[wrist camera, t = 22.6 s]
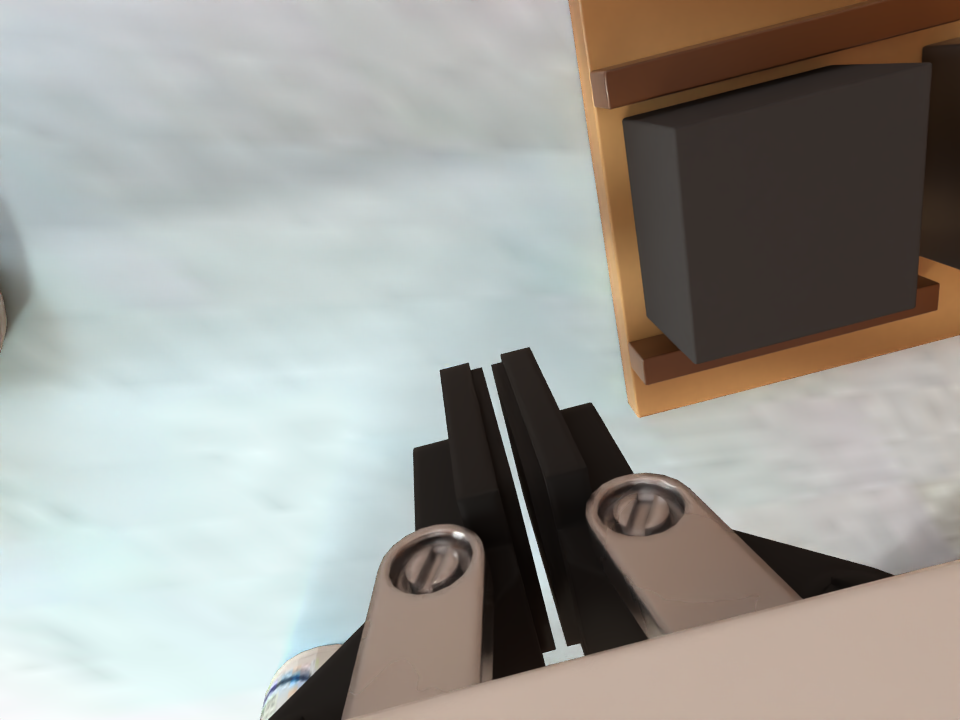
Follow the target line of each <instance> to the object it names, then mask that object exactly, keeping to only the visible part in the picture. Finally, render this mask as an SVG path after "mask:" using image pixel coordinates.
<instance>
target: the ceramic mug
mask: <svg viewBox="0 0 960 720" xmlns="http://www.w3.org/2000/svg"><path fill="white" fill-rule="evenodd" d="M6 328H7V317H6V311H5V306H4V301H3V297H2V294H1V291H0V352H1V349H2V346H3V342H4V337H5V333H6Z"/></svg>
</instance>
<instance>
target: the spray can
mask: <svg viewBox="0 0 960 720" xmlns="http://www.w3.org/2000/svg"><path fill="white" fill-rule="evenodd" d="M341 646H342V645H341V644H335V645H327V646H320V647H316V648H313V649H310V650H307V651H304V652H301V653H300V654H298V655H296V656H295V657H293V658H291V659H290V660H288V661H287V662H286V663H285V664H284V665H283V666H282V667H281V668H280V669H279V670H278V671H277V672H276V673H275V675H274V677H273V679H272V681H271V683H270V686H269V688H268V690H267V692H266V695H265V700H264V704H263V709H262V713H261V717H260V720H268V719H269V718H270V717H271V716H272V715H273V714H274V713H275V712H276V711H277V710H278V709H279V708H280V707H281V706H282V705H283V704H284V703H285V702H286V701H287V700H288V699H289V698H290V697H291V696H292V695H293V694H294V693H295V692H296V691H297V690H298V689H299V688H300V687H301V686H302V685H303V684H304V683H305V682H306V681H307V680H308V679H309V678H310V677H311V676H312V675H313V674H314V673H315V672H316V671H317V670H318V669H319V668H320V667H321V666H322V665H323V664H324V663H325V662H326V661H327V660H328V659H329V658H330V657H331V656H332V655H333V654H334V653H335V652H336V651H337V650H338V649H339V648H340V647H341Z"/></svg>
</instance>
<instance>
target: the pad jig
mask: <svg viewBox="0 0 960 720" xmlns="http://www.w3.org/2000/svg"><path fill="white" fill-rule="evenodd" d="M568 1H569V7H570V14H571V21H572V28H573V34H574V41H575V48H576V55H577V61H578V68H579V75H580V82H581V88H582V95H583V102H584V108H585V115H586V122H587V129H588V135H589V142H590V149H591V156H592V162H593V169H594V176H595V183H596V189H597V196H598V203H599V210H600V216H601V223H602V230H603V237H604V243H605V250H606V257H607V264H608V270H609V277H610V284H611V290H612V297H613V304H614V311H615V317H616V324H617V331H618V338H619V344H620V351H621V358H622V365H623V371H624V378H625V385H626V392H627V398H628V403H629V405H630V406H631V408H632V409H633V411H634V412H635V413H636V415H637V416H638V417H639V418H641V417H644V416H648V415H652V414H656V413H660V412H664V411H668V410H671V409H675V408H679V407H683V406H687V405H691V404H695V403H699V402H702V401H706V400H710V399H714V398H718V397H722V396H726V395H729V394H733V393H737V392H741V391H745V390H749V389H753V388H757V387H760V386H764V385H768V384H772V383H776V382H780V381H784V380H787V379H791V378H795V377H799V376H803V375H807V374H811V373H815V372H818V371H822V370H826V369H830V368H834V367H838V366H842V365H845V364H849V363H853V362H857V361H861V360H865V359H869V358H873V357H876V356H880V355H884V354H888V353H892V352H896V351H900V350H903V349H907V348H911V347H915V346H919V345H923V344H927V343H931V342H934V341H938V340H942V339H946V338H950V337H954V336H958V335H960V0H568ZM923 62H929V63H932V79H931V93H930V108H929V122H928V137H927V151H926V166H925V180H924V195H923V209H922V224H921V238H920V253H919V267H918V282H917V296H916V307H915V308H914V309H910V310H906V311H902V312H898V313H894V314H890V315H886V316H883V317H879V318H875V319H871V320H867V321H863V322H859V323H855V324H852V325H848V326H844V327H840V328H836V329H832V330H828V331H825V332H821V333H817V334H813V335H809V336H805V337H801V338H797V339H794V340H790V341H786V342H782V343H778V344H774V345H770V346H766V347H763V348H759V349H755V350H751V351H747V352H743V353H739V354H735V355H732V356H728V357H724V358H720V359H716V360H712V361H708V362H704V363H701V364H694V363H693V362H692V361H691V360H690V359H689V358H688V357H687V356H686V355H685V354H684V353H683V352H682V351H681V350H680V349H679V348H678V347H677V346H676V345H675V344H674V343H673V342H672V341H671V340H670V339H669V338H668V337H667V336H666V335H665V334H664V333H663V332H662V331H661V330H660V329H659V328H658V327H657V326H656V325H655V324H654V323H653V322H652V321H651V320H649V319H648V318H647V316H646V308H645V300H644V292H643V284H642V276H641V268H640V260H639V252H638V244H637V236H636V229H635V221H634V213H633V205H632V197H631V189H630V181H629V173H628V165H627V157H626V149H625V141H624V133H623V125H622V119H624V118H626V117H630V116H633V115H637V114H641V113H645V112H649V111H653V110H657V109H661V108H665V107H669V106H673V105H677V104H680V103H684V102H688V101H692V100H696V99H700V98H704V97H708V96H712V95H716V94H720V93H724V92H727V91H731V90H735V89H739V88H743V87H747V86H751V85H755V84H759V83H763V82H767V81H771V80H774V79H778V78H782V77H786V76H790V75H794V74H798V73H802V72H806V71H810V70H814V69H817V68H821V67H825V66H829V65H849V64H886V63H923Z"/></svg>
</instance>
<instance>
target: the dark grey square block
mask: <svg viewBox="0 0 960 720" xmlns="http://www.w3.org/2000/svg"><path fill="white" fill-rule="evenodd" d="M931 79H932V63H929V62H923V63H886V64H849V65H829V66H825V67H821V68H817V69H814V70H810V71H806V72H802V73H798V74H794V75H790V76H786V77H782V78H778V79H774V80H771V81H767V82H763V83H759V84H755V85H751V86H747V87H743V88H739V89H735V90H731V91H727V92H724V93H720V94H716V95H712V96H708V97H704V98H700V99H696V100H692V101H688V102H684V103H680V104H677V105H673V106H669V107H665V108H661V109H657V110H653V111H649V112H645V113H641V114H637V115H633V116H630V117H626V118H624V119H622V125H623V133H624V141H625V149H626V157H627V165H628V173H629V181H630V189H631V197H632V205H633V213H634V221H635V229H636V236H637V244H638V252H639V260H640V268H641V276H642V284H643V292H644V300H645V308H646V316H647V318H648V319H649V320H651V321H652V322H653V323H654V324H655V325H656V326H657V327H658V328H659V329H660V330H661V331H662V332H663V333H664V334H665V335H666V336H667V337H668V338H669V339H670V340H671V341H672V342H673V343H674V344H675V345H676V346H677V347H678V348H679V349H680V350H681V351H682V352H683V353H684V354H685V355H686V356H687V357H688V358H689V359H690V360H691V361H692V362H693V363H694V364H701V363H704V362H708V361H712V360H716V359H720V358H724V357H728V356H732V355H735V354H739V353H743V352H747V351H751V350H755V349H759V348H763V347H766V346H770V345H774V344H778V343H782V342H786V341H790V340H794V339H797V338H801V337H805V336H809V335H813V334H817V333H821V332H825V331H828V330H832V329H836V328H840V327H844V326H848V325H852V324H855V323H859V322H863V321H867V320H871V319H875V318H879V317H883V316H886V315H890V314H894V313H898V312H902V311H906V310H910V309H914V308H915V307H916V296H917V282H918V267H919V253H920V238H921V224H922V209H923V195H924V180H925V166H926V151H927V137H928V122H929V108H930V93H931Z"/></svg>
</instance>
